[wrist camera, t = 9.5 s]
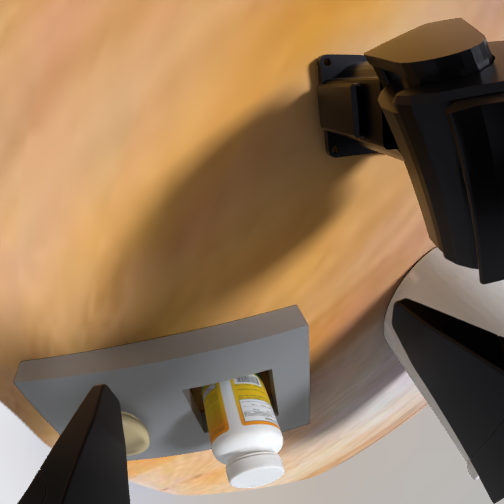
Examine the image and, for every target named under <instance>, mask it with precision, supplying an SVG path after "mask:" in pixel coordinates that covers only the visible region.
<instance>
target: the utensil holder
mask: <svg viewBox="0 0 504 504" xmlns="http://www.w3.org/2000/svg"><path fill="white" fill-rule="evenodd" d="M403 298H408V299H411V300H413V301H416V302H418V303H421V304H423V305H426V306H428V307H431V308H433V309H436V310H438V311H441V312H443V313H446V314H448V315H451V316H453V317H456V318H458V319H460V320H463V321H465V322H468V323H470V324H473V325H475V326H478V327H480V328H482V329H485V330H487V331H490V332H492V333H494V334H497V335H498V336H502V337H504V280H501V281H497V282H493V283H489V284H484V285H483V284H481V283H480V281H479V270H478V269H471V268H467V267H464V266H460V265H456V264H455V263H453V262H451V261H449V260H447V259H445V258H444V256H443V252H442V251H440V250H439V249H438V247H436V248H434V249H433V250H431V251H430V252H429V253H428V254H426V255H425V256H424V257H423V258H422V259H421V260H420V261H419V262H418V263H417V264H416V265H415V266H414V267H413V268H412V269H411V270H410V272H409V273H408V274H407V275H406V277H405V278H404V279H403V281H402V282H401V284H400V285H399V287H398V288H397V290H396V292H395V294H394V295H393V297H392V299H391V301H390V304H389V306H388V309H387V311H386V315H385V320H384V336H385V339H386V341H387V343H388V345H389V346H390V348H391V349H392V351H393V352H394V354H395V355H396V356H397V358H398V359H399V361H400V362H401V364H402V366H403V367H404V368H405V370H406V371H407V373H408V374H409V376H410V377H411V379H412V380H413V382H414V383H415V385H416V386H417V388H418V389H419V391H420V392H421V394H422V395H423V397H424V398H425V399H426V401H427V402H428V404H429V405H430V407H431V408H432V410H433V411H434V413H435V414H436V415H437V417H438V419H439V420H440V422H441V423H442V425H443V426H444V428H445V430H446V431H447V433H448V434H449V436H450V437H451V439H452V440H453V442H454V443H455V445H456V446H457V448H458V450H459V451H460V453H461V454H462V456H463V457H464V459H465V460H466V462H467V468H468V472H469V474H470V475H471V477H472V478H473V479H474V480H475V479H478V478H479V476H478V474H477V472H476V470H475V468H474V467H473V465H472V463H471V461H470V459H469V457H468V455H467V454H466V452H465V450H464V448H463V447H462V445H461V443H460V441H459V440H458V438H457V436H456V435H455V433H454V431H453V429H452V428H451V426H450V424H449V423H448V421H447V419H446V418H445V416H444V415H443V413H442V411H441V410H440V408H439V406H438V405H437V403H436V402H435V400H434V398H433V397H432V395H431V394H430V392H429V390H428V389H427V387H426V386H425V384H424V383H423V381H422V379H421V378H420V376H419V375H418V373H417V372H416V370H415V369H414V367H413V365H412V364H411V362H410V360H409V358H408V356H407V354H406V352H405V350H404V348H403V346H402V344H401V342H400V340H399V338H398V337H397V335H396V333H395V331H394V329H393V326H392V313H393V305H394V303H395V302H396V301H398V300H400V299H403Z"/></svg>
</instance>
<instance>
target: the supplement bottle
mask: <svg viewBox="0 0 504 504" xmlns="http://www.w3.org/2000/svg"><path fill="white" fill-rule="evenodd" d="M201 389H202V397H203V403H204V408H205V414H206V420H207V425H208V431H209V436H210V441H211V446H212V450H213V454H214V456H215V458H216V459H217V460H218V461H220V462H221V463H223V464H226V465H227V466H226V473H227V476H228V480H229V483H230V485H231V486H233V487H236V488H253V487H259V486H263V485H266V484H269V483H271V482H273V481H275V480H277V479H279V478H280V477H281V476H282V475H283V474H284V467H283V464H282V461H281V458H280V456H279V455H278V454H277V453H278V452H279V451H280V449H281V447H282V445H283V437H282V433H281V430H280V428H279V425H278V422H277V420H276V417H275V414H274V412H273V409H272V406H271V403H270V400H269V397H268V395H267V392H266V389H265V386H264V383H263V380H262V378H261V376H260V374H259V373H255V374H251V375H247V376H243V377H239V378H235V379H231V380H227V381H223V382H218V383H214V384H209V385H205V386H202V388H201Z"/></svg>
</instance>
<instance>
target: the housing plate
mask: <svg viewBox="0 0 504 504" xmlns="http://www.w3.org/2000/svg"><path fill="white" fill-rule="evenodd" d="M266 370H267V371H268V377H269V383H270V389H271V396H268V397H269V400H270V403H271V406H272V409H273V412H274V414H275V417H276V420H277V422H278V425H279V428H280V430H281V432H284V431H287V430H290V429H294V428H297V427H300V426H303V425H306V424H309V423H310V366H309V326H308V323H307V322H306V320H305V318H304V317H303V315H302V313H301V311H300V310H299V308H298V306H297V305H293V306H290V307H286V308H282V309H279V310H275V311H271V312H267V313H264V314H260V315H256V316H252V317H248V318H244V319H240V320H236V321H232V322H228V323H224V324H219V325H215V326H211V327H207V328H202V329H198V330H194V331H189V332H185V333H180V334H176V335H171V336H166V337H161V338H157V339H152V340H147V341H142V342H137V343H132V344H127V345H121V346H116V347H111V348H105V349H99V350H94V351H88V352H82V353H76V354H70V355H63V356H57V357H50V358H43V359H36V360H29V361H21V362H20V365H19V367H18V370H17V373H16V376H15V378H14V381H13V383H14V384H15V385H16V387H17V388H18V389H19V390H20V391H21V393H22V394H23V395H24V396H25V397H26V399H27V400H28V401H29V402H30V403H31V404H32V405H33V407H34V408H35V409H36V410H37V411H38V412H39V413H40V414H41V415H42V416H43V418H44V419H45V420H46V421H47V422H48V423H49V424H50V425H51V426H52V427H53V428H54V429H55V430H56V431H57V432H58V433H59V434H60V435H61V434H62V432H63V431H64V429H65V427H66V426H67V424H68V423H69V421H70V420H71V418H72V417H73V415H74V413H75V412H76V410H77V409H78V407H79V406H80V404H81V403H82V401H83V400H84V398H85V397H86V395H87V394H88V392H89V391H90V389H91V388H92V387H93V386H94V385H98V384H106V385H107V386H108V387H109V388H110V389H111V391H112V392H113V393H114V394H115V396H116V397H117V398H118V400H119V402H120V407H121V415H122V423H123V430H124V437H125V444H126V454H127V461H129V460H140V459H150V458H159V457H166V456H174V455H180V454H187V453H193V452H199V451H204V450H209V449H212V446H211V441H210V436H209V431H208V425H207V420H206V414H205V412H200V409H199V407H198V405H197V403H196V401H195V399H194V397H193V395H192V393H191V391H190V389H191V388H196V387H200V386H205V385H209V384H214V383H218V382H223V381H227V380H231V379H235V378H239V377H243V376H247V375H251V374H255V373H259V372H263V371H266Z"/></svg>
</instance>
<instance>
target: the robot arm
mask: <svg viewBox="0 0 504 504" xmlns="http://www.w3.org/2000/svg"><path fill="white" fill-rule="evenodd" d="M325 59H326V60H327V61H328V66H326V65H324V60H325ZM317 66H318V74H319V83H320V85H319V86H318V88H317V92H318V101H319V111H320V121H321V127H322V128H323V129H324V132H325V145H326V152H327V154H328V155H330V156H332V157H336V158H337V157H344V156H352V155H360V154H368V153H377V152H380V153H383V154H386V155H388V156H391V157H394V158H397V159H399V160H402V161H404V163H405V165H406V168H407V170H408V173H409V176H410V179H411V181H412V184H413V187H414V190H415V193H416V196H417V199H418V202H419V205H420V208H421V211H422V214H423V218H424V221H425V224H426V228H427V231H428V234H429V238H430V239H431V240H432V241H433V243H434V244H435V245H436V246H437V247H438V249H439V250H440V251H442V252H443V256H444V258H445V259H447V260H449V261H451V262H453V263H455V264H456V265H460V266H464V267H467V268H471V269H478V270H479V281H480V283H481V284H483V285H484V284H489V283H493V282H497V281H501V280H504V41H495V42H487V41H486V38H485V36H484V35H483V34H482V33H481V32H479V31H478V30H477V29H475V28H474V27H473V26H471V25H470V24H469V23H467V22H466V21H465V20H463V19H462V18H455V19H449V20H443V21H438V22H432V23H428V24H424V25H422V26H420V27H417V28H415V29H413V30H411V31H409V32H406V33H404V34H402V35H400V36H398V37H396V38H394V39H392V40H390V41H388V42H385V43H383V44H381V45H379V46H377V47H375V48H374V49H372V50H370V51H368V52H366V53H364V55H322V56H320V57H319V58H318V60H317ZM334 146H336V148H337V149H336V151H335V152H334V153H333V151H332V148H333V147H334ZM392 326H393V329H394V331H395V333H396V335H397V337H398V338H399V340H400V342H401V344H402V346H403V348H404V350H405V352H406V354H407V356H408V358H409V360H410V362H411V364H412V365H413V367H414V369H415V370H416V372H417V373H418V375H419V376H420V378H421V379H422V381H423V383H424V384H425V386H426V387H427V389H428V390H429V392H430V394H431V395H432V397H433V398H434V400H435V402H436V403H437V405H438V406H439V408H440V410H441V411H442V413H443V415H444V416H445V418H446V419H447V421H448V423H449V424H450V426H451V428H452V429H453V431H454V433H455V435H456V436H457V438H458V440H459V441H460V443H461V445H462V447H463V448H464V450H465V452H466V454H467V455H468V457H469V459H470V461H471V463H472V465H473V467H474V468H475V470H476V472H477V474H478V476H479V478H480V479H481V481H482V483H483V485H484V487H485V489H486V491H487V493H488V495H489V497H490V498H491V500H492V502H493V503H494V504H495V503H496V502H498V501H500V500H501V499H503V498H504V337H502V336H498V335H497V334H494V333H492V332H490V331H487V330H485V329H482V328H480V327H478V326H475V325H473V324H470V323H468V322H465V321H463V320H460V319H458V318H456V317H453V316H451V315H448V314H446V313H443V312H441V311H438V310H436V309H433V308H431V307H428V306H426V305H423V304H421V303H418V302H416V301H413V300H411V299H408V298H403V299H400V300H398V301H396V302H395V303H394V305H393V313H392ZM40 469H41V470H39V471H38V473H37V474H36V476H35V478H34V479H33V481H32V483H31V484H30V486H29V488H28V489H27V490H26V492H25V493H24V495H23V496H22V498H21V499H20V501H19V502H18V503H17V504H130V496H129V485H128V472H127V454H126V444H125V437H124V430H123V423H122V415H121V407H120V402H119V400H118V398H117V397H116V396H115V394H114V393H113V392H112V391H111V389H110V388H109V387H108V386H107V385H106V384H98V385H94V386H93V387H92V388H91V389H90V391H89V392H88V394H87V395H86V397H85V398H84V400H83V401H82V403H81V404H80V406H79V407H78V409H77V410H76V412H75V413H74V415H73V417H72V418H71V420H70V421H69V423H68V424H67V426H66V427H65V429H64V431H63V432H62V434H61V435H60V437H59V438H58V440H57V442H56V443H55V445H54V446H53V448H52V450H51V451H50V453H49V455H48V456H47V458H46V460H45V461H44V463H43V465H42V466H41V468H40Z"/></svg>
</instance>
